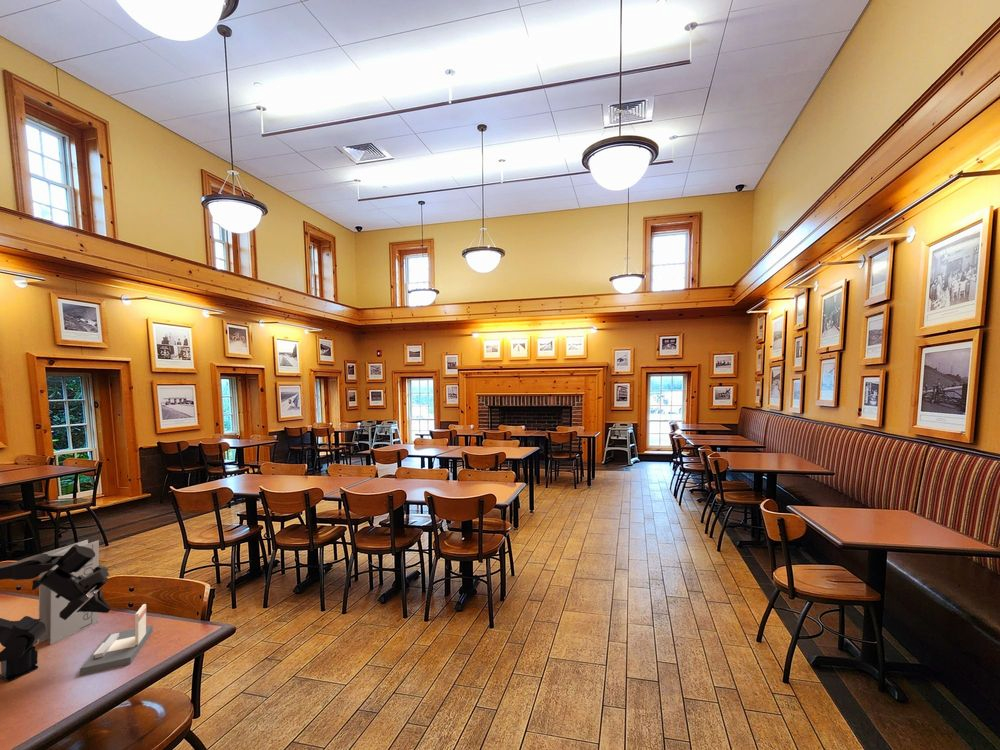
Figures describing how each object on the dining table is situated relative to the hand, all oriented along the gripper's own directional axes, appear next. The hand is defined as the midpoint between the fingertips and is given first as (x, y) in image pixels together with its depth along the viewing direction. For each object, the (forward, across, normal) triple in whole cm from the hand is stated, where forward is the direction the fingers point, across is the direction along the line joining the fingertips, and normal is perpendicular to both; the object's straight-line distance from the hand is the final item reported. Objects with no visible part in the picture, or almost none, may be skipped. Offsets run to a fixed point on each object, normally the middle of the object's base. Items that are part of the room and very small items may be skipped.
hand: (109, 611), depth 138 cm
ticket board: (+12, 0, +8) cm, 14 cm away
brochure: (-3, +23, +23) cm, 32 cm away
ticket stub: (+14, 0, +2) cm, 14 cm away
